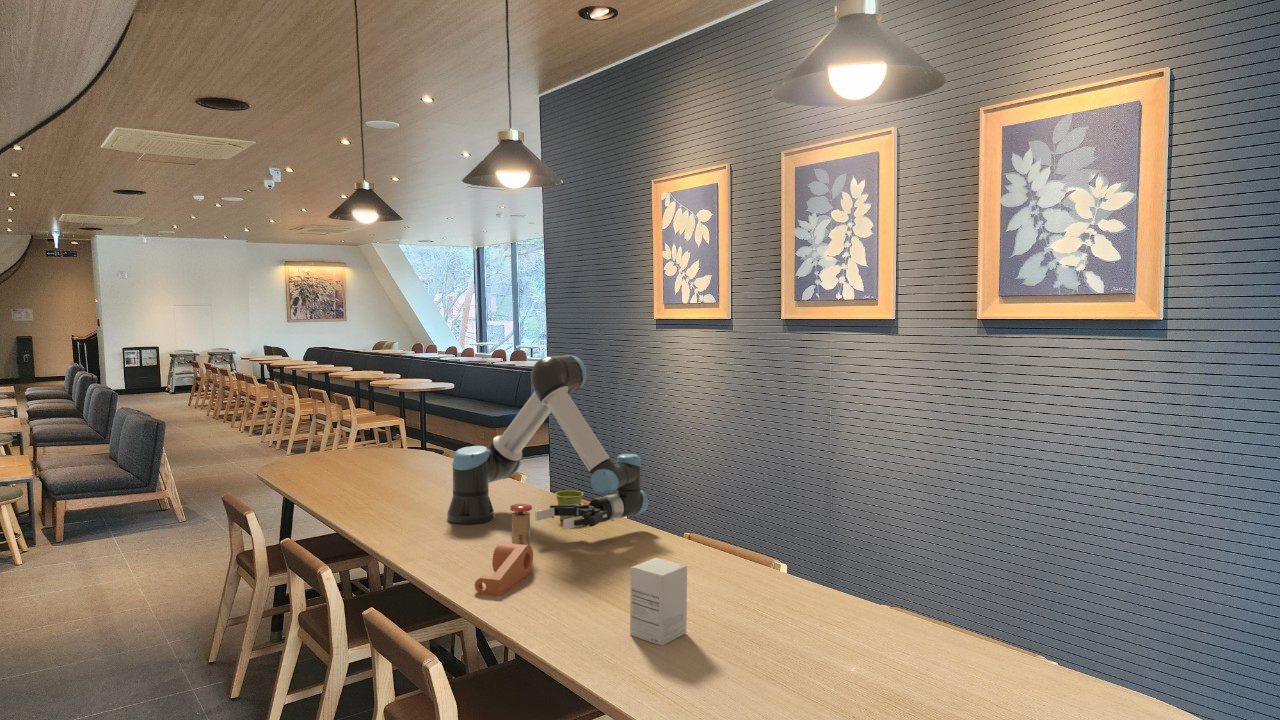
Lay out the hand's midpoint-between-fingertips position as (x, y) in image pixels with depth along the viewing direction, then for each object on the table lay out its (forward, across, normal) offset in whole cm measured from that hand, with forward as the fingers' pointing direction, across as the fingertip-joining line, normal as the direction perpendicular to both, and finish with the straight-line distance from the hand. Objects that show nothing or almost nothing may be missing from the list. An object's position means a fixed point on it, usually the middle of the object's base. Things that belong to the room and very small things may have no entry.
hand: (549, 520), depth 227 cm
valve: (+10, 0, -8) cm, 13 cm away
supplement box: (+19, -65, -9) cm, 68 cm away
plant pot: (-25, +23, -9) cm, 35 cm away
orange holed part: (+25, -14, -9) cm, 30 cm away
